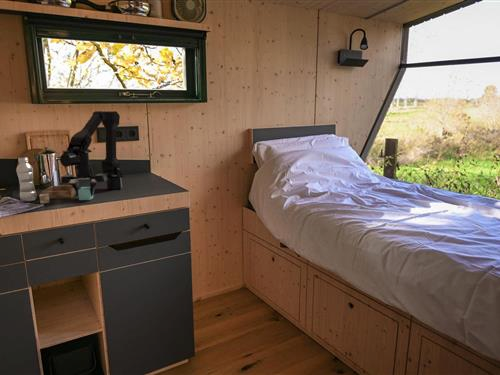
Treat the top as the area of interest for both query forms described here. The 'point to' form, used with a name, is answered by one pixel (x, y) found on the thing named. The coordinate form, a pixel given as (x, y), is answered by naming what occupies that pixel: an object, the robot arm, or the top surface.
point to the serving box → (60, 192)
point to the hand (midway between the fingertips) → (86, 196)
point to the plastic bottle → (26, 180)
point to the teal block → (85, 193)
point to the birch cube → (44, 198)
